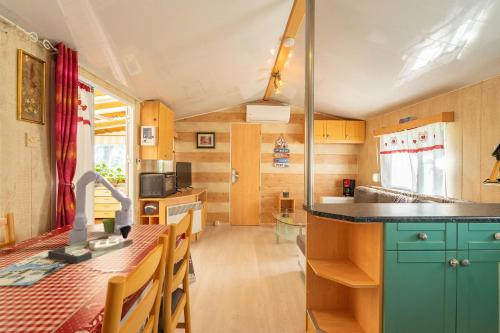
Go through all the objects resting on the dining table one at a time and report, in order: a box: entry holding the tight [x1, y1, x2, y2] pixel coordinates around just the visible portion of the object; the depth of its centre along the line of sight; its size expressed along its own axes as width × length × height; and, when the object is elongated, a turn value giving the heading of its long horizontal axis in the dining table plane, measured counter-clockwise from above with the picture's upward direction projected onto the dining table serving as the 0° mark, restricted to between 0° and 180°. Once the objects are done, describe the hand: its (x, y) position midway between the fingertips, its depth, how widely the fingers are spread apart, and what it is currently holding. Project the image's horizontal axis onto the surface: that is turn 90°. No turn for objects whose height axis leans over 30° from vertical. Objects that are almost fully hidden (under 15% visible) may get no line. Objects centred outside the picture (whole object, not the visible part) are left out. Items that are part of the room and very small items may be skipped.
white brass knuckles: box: [88, 237, 125, 251], centre depth 153 cm, size 3×18×15 cm
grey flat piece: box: [64, 234, 134, 259], centre depth 148 cm, size 20×27×3 cm
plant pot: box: [102, 218, 115, 234], centre depth 184 cm, size 9×9×9 cm
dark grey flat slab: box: [47, 246, 93, 264], centre depth 132 cm, size 20×8×3 cm, turn 70°
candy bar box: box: [114, 209, 132, 236], centre depth 182 cm, size 11×5×16 cm, turn 168°
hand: (124, 238), depth 165 cm, fingers closed
